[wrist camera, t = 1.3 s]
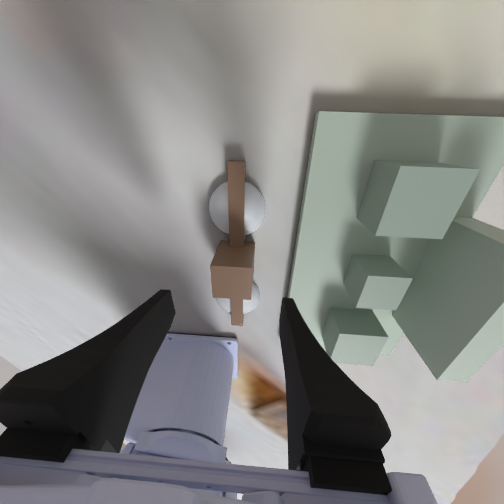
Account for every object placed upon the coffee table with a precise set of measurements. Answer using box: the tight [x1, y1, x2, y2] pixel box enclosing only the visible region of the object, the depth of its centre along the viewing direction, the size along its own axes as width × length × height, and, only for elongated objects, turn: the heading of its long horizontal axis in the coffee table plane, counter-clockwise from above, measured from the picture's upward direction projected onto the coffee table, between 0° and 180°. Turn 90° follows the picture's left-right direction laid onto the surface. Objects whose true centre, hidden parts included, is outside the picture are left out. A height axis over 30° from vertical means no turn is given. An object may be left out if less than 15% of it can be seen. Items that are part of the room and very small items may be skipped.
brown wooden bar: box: [209, 160, 265, 326], centre depth 17 cm, size 4×16×4 cm, turn 178°
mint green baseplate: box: [287, 111, 504, 382], centre depth 15 cm, size 12×22×7 cm, turn 178°
